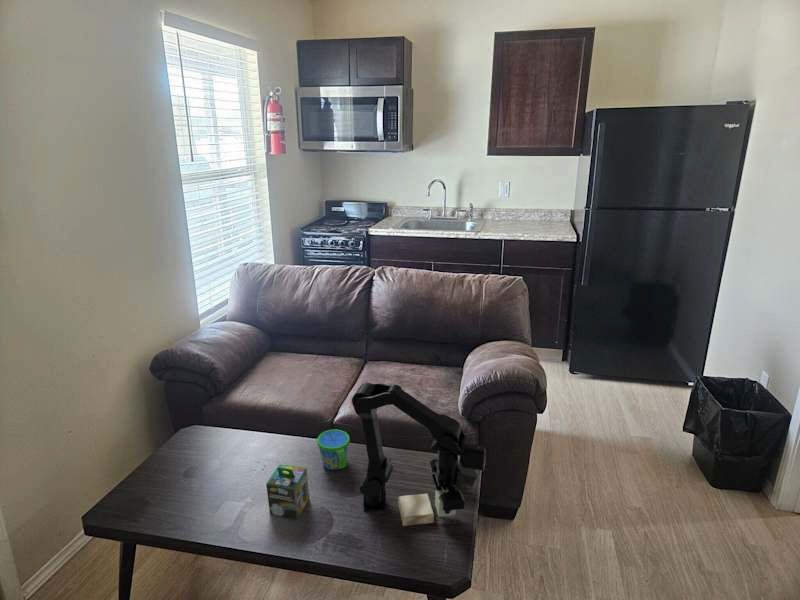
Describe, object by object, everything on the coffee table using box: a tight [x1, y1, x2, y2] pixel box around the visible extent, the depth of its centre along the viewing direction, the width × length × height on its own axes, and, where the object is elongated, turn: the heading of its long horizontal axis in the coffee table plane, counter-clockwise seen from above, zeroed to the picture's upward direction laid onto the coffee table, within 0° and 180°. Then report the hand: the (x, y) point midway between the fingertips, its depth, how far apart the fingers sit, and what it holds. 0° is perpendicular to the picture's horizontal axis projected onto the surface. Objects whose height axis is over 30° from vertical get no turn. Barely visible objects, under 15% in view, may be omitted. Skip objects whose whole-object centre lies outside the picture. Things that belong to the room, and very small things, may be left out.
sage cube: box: [434, 490, 457, 517], centre depth 149 cm, size 5×5×5 cm
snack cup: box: [316, 428, 351, 471], centre depth 171 cm, size 16×10×10 cm
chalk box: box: [265, 464, 310, 520], centre depth 152 cm, size 9×9×15 cm
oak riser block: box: [397, 493, 435, 527], centre depth 152 cm, size 9×9×3 cm
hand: (445, 506), depth 149 cm, fingers closed on sage cube, 5 cm apart
